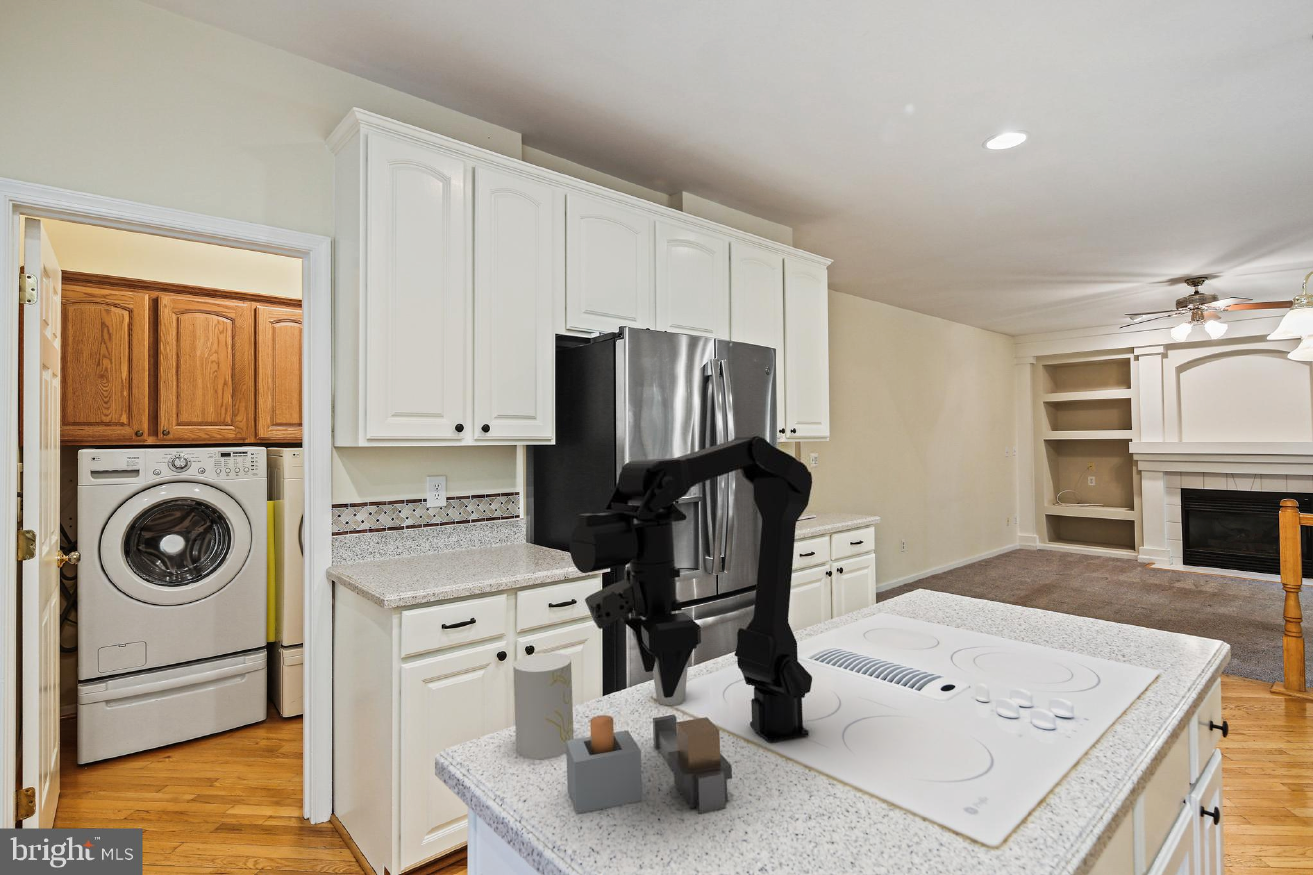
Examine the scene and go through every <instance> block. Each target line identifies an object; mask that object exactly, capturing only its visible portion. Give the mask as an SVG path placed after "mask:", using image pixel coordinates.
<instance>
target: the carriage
mask: <svg viewBox="0 0 1313 875" xmlns="http://www.w3.org/2000/svg"><path fill="white" fill-rule="evenodd" d="M720 733H721V732H720V729H719V728H718V727H717V726H716V725H715V724H714V723H713V722H712V720H710V719H709V717H707V716H705V717H699V718H693V719H689V720H682V721H677V741H678V751H673V752H668V762H667V764H668V767H669V768H670V769H671V771H672V772H673V783H674V785H675V787H676V788H677V789H678V791H679V793H680V794H681V796H682V797H683V798H684V800H685V801H686V803H687V805H688V806H689V807H690V808H697V807H696V778H695V775H696V774H701V773H707V772H712V771H717V770H721V771H722V772H723V773H724V784H725V801H728V781H727V780H732V779H733V769H732V768H733V766H732V764H730V762H729V761H728V760H727V759H726V758H725V757H724V756H723V754H722V753H721V736H720V735H721V734H720Z"/></svg>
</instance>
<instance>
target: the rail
mask: <svg viewBox="0 0 1313 875" xmlns="http://www.w3.org/2000/svg"><path fill="white" fill-rule="evenodd" d="M677 722H678V720H677V716H676V714H669V715H663V716H657V717H652V734H653V735H652V736H653V741H652V742H653V748H654V750H658V751H659V752H660V754H661V755H662V757H664V759H665V760H666V762H667V763H668V752H673V751H678V741H677ZM695 778H696V807H695V808H696V811H697V812H698V813H699V814H705V813H709V812H714V811H719V810H723V809H726V800H725V784H724V773H723V772H722V771H721V770H717V771H712V772H707V773H701V774H696V775H695Z"/></svg>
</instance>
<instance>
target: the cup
mask: <svg viewBox="0 0 1313 875" xmlns="http://www.w3.org/2000/svg"><path fill="white" fill-rule="evenodd" d="M572 674H573V673H572V658H571V657H570V656H569V655H567V654H563V653H558V652H541V653H534V654H529V655H526V656H523V657H520V658H518V659H516V660H515V661H514V662H513V690H514V691H513V692H514V717H515V718H514V719H515V720H514V721H515V751H516V753H517V754H518V755H519V756H520V757H522V758H525V759H529V760H548V759H553V758H554V759H555V758H558V757H560V756H562V755H565V754H566V741H567V740H573V739H575V738H574V737H575V734H574V709H573V707H574V706H573V678H572V677H573V676H572Z"/></svg>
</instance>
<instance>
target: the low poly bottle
mask: <svg viewBox="0 0 1313 875" xmlns="http://www.w3.org/2000/svg"><path fill="white" fill-rule="evenodd" d="M677 582H678V578H676V589H677V585H678V584H677ZM675 613H677V611H672V614H675ZM688 669H689V661H688V662H687V664H686V666H685V668H684V671H683V673H682V676H681V678H680V680H679V683H678V685H677V688H676V690H675V693H674V695H673V697H669V698H665V697H664V696H663V692H662V688H661V683H660V678H659V673H658V669H657V664H656V662H655V666H654V669H653V671H652V676H653V682H654V683H653V684H654V689H655V695H656V701H657V703H658V704H659V705H662V706H669V707H670V706H679V704H680V705H681V704H682V703H684V702H685V701H686V690H687V680H688V678H687V677H688Z"/></svg>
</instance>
